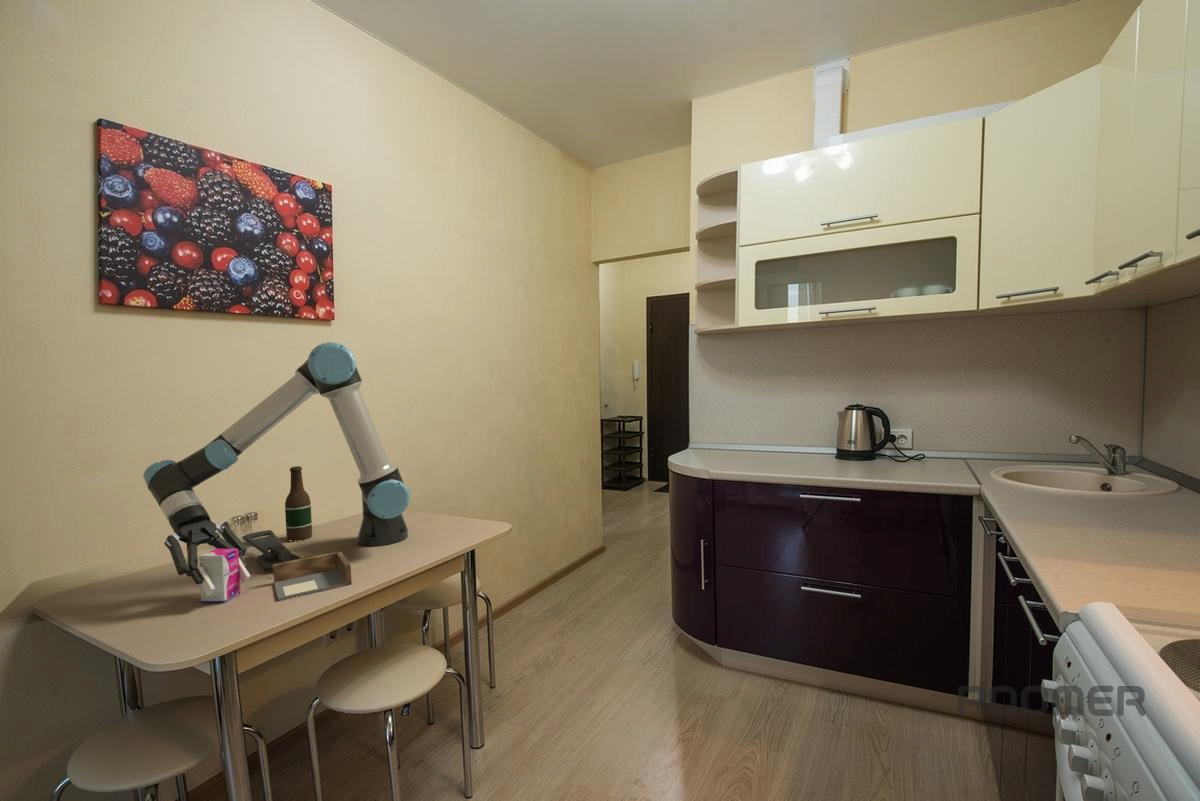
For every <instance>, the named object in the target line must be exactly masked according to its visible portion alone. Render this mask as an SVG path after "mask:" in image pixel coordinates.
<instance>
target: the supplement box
mask: <svg viewBox="0 0 1200 801" xmlns="http://www.w3.org/2000/svg"><path fill="white" fill-rule="evenodd" d="M198 561H199V567H203V568H204V570H205V572H206V573H207V575H208V577H209V579H210V580H211V582H212V584H213V585H214V587H215V589H214V591H213V593H212V594H211V595H210V596H207V595H206V593H205V592H204V590H203V588H202V586H201V585H200V603H201V604H224V603H226V602H228V601H230V600H231V599H232V598H234V597H236V596H238V595H240V594H241V582H240V581H241V580H240V575H239V550H238V549H217V548H215V549H212V550H210V551H208V552H206V553H205V552H204V553H203V554H201V555H199V560H198Z"/></svg>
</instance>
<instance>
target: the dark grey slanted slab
mask: <svg viewBox="0 0 1200 801" xmlns="http://www.w3.org/2000/svg"><path fill="white" fill-rule="evenodd" d="M242 540H244V541H245V542H246V543H247V544H250V545H251V546H252V547H253V548H256V550H258V551H259V552H261V554H260V555H258V556H257V557H256V560H257V562H256V563H257V565H258V566H259V567H260V569H261V570H262V571H263V573H265V574H271V573H273V564H277V563H282V562H288V561H293V560H298V559H301V556H300V555H297V554H293V553H291V551H290V549H288V548H287V547H286V546H285V545H284V544H283V543H282V542H281V540H280V539H279V538H278V537H277V535H276V534H275V533H274V532H273V530H272V529H270V530H269V529H267V530H261V531H256V532H251V533H248V534H245V535H243V536H242Z"/></svg>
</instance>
